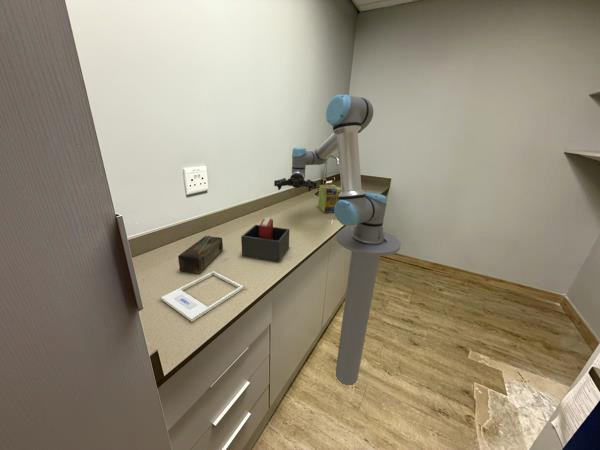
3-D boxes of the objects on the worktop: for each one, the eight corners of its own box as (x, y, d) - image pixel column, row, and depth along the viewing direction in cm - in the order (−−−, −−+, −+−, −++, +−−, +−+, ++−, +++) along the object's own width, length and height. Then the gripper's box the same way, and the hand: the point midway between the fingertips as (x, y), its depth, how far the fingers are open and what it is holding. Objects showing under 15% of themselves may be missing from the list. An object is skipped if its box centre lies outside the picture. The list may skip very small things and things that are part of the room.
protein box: (324, 213, 154) (326, 189, 149) (317, 206, 168) (319, 184, 163) (339, 212, 156) (342, 189, 151) (332, 206, 171) (334, 184, 165)
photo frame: (161, 296, 70) (213, 270, 84) (161, 299, 70) (213, 273, 84) (191, 318, 62) (243, 285, 76) (191, 321, 62) (243, 288, 77)
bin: (288, 247, 106) (289, 229, 103) (279, 262, 93) (279, 241, 90) (255, 242, 109) (255, 224, 106) (242, 256, 96) (241, 236, 93)
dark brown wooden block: (224, 250, 101) (223, 235, 98) (200, 274, 83) (198, 258, 81) (206, 248, 102) (204, 233, 99) (178, 272, 84) (175, 255, 82)
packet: (273, 246, 105) (273, 217, 100) (269, 255, 97) (269, 224, 92) (263, 245, 105) (263, 217, 100) (259, 254, 97) (259, 224, 92)
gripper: (320, 187, 128) (321, 197, 108) (273, 185, 129) (266, 194, 109) (321, 173, 126) (322, 180, 106) (273, 171, 127) (266, 177, 107)
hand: (294, 187), depth 108 cm, fingers open, 13 cm apart
